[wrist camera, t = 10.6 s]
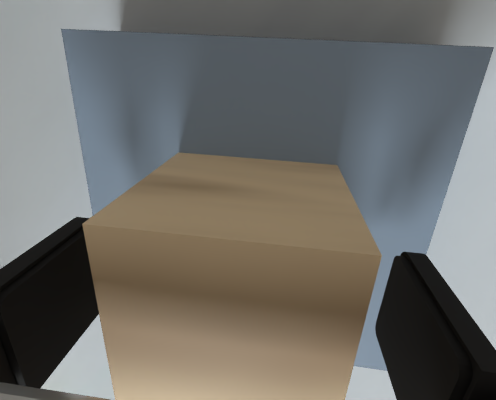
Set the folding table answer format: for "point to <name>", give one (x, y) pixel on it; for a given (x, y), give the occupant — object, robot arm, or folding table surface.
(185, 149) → the slate base
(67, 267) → the robot arm
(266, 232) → the oak cube
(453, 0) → the folding table surface
